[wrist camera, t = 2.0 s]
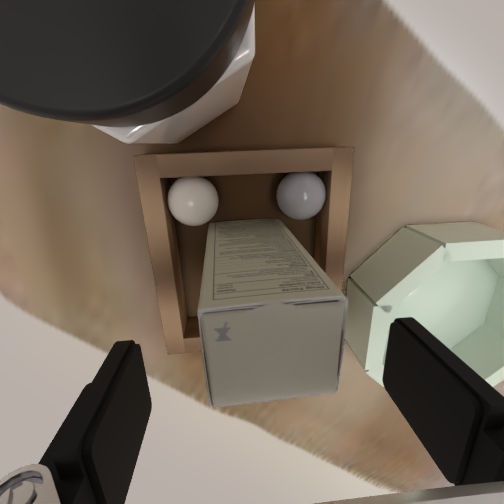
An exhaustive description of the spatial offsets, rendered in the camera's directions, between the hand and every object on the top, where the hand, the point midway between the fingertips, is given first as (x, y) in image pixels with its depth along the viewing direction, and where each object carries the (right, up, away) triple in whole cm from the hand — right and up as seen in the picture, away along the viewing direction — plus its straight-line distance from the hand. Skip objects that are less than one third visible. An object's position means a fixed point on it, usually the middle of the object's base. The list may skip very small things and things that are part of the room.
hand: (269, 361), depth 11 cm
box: (-1, +4, +10) cm, 11 cm away
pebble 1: (-4, +8, +8) cm, 12 cm away
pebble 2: (+2, +8, +8) cm, 12 cm away
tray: (-1, +4, +10) cm, 10 cm away
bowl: (+13, 0, +12) cm, 18 cm away
